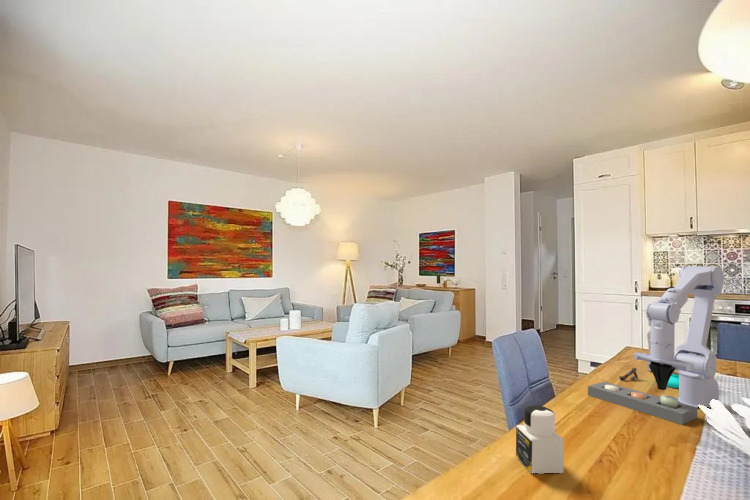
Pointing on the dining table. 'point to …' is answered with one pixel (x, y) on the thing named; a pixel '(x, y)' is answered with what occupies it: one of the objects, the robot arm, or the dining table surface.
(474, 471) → the dining table surface
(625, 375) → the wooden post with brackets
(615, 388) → the button cream
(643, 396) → the button terracotta
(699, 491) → the dining table surface
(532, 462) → the medicine bottle
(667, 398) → the button sage
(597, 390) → the button panel
